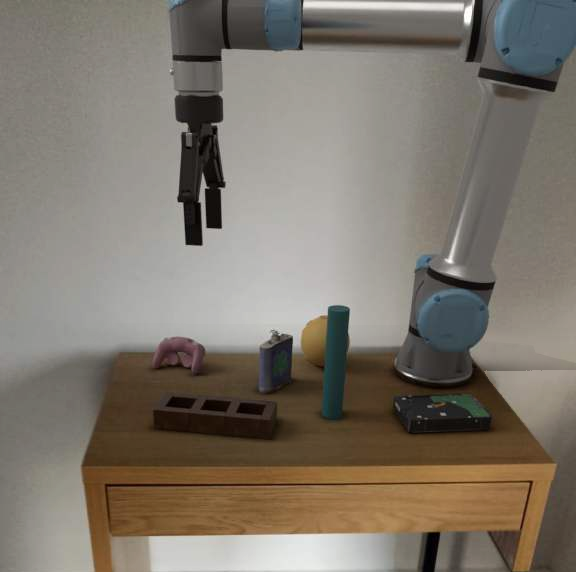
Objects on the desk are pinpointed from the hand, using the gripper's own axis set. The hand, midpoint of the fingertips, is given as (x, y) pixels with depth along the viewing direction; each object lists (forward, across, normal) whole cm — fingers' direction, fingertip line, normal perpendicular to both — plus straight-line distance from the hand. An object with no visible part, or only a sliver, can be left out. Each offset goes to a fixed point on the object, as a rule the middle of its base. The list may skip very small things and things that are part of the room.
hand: (204, 236), depth 128 cm
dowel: (+27, +8, +24) cm, 37 cm away
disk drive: (+28, +6, +43) cm, 52 cm away
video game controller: (+27, -7, -8) cm, 29 cm away
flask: (+28, -3, +12) cm, 30 cm away
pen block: (+27, +16, +5) cm, 32 cm away
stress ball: (+28, -16, +20) cm, 37 cm away
